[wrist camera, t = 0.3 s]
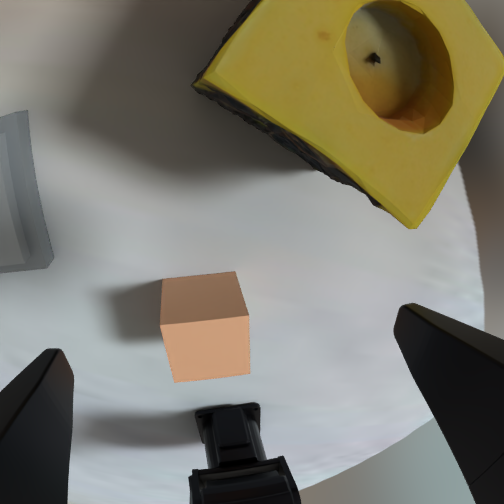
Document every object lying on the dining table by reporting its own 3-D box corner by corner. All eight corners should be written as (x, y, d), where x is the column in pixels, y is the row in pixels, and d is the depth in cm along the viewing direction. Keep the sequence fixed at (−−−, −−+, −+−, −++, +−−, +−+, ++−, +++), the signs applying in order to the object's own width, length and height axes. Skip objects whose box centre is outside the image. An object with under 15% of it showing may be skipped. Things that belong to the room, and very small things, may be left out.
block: (237, 326, 24) (250, 373, 20) (173, 333, 23) (174, 382, 19) (235, 270, 22) (249, 315, 18) (162, 278, 21) (159, 325, 17)
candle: (280, -33, 13) (357, -109, 4) (397, 61, 17) (513, 63, 9) (185, 88, 16) (185, 72, 7) (321, 174, 20) (417, 237, 11)
